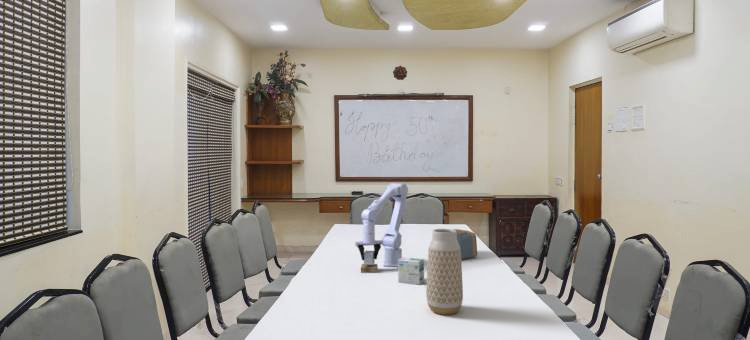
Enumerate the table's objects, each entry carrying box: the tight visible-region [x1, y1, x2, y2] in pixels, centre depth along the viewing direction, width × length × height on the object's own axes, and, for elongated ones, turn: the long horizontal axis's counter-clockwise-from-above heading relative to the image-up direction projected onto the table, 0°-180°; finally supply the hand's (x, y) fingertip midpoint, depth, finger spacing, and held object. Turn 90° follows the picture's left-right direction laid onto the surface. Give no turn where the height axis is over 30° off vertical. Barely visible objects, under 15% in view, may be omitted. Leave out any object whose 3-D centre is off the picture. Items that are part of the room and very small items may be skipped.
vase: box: [425, 228, 464, 316], centre depth 174 cm, size 14×14×31 cm
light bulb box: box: [397, 256, 425, 286], centre depth 213 cm, size 11×7×11 cm, turn 65°
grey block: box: [363, 250, 376, 265], centre depth 233 cm, size 4×4×6 cm
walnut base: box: [360, 263, 378, 274], centre depth 234 cm, size 8×8×3 cm
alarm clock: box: [452, 228, 478, 261], centre depth 263 cm, size 16×16×16 cm
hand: (369, 259), depth 233 cm, fingers closed on grey block, 6 cm apart
